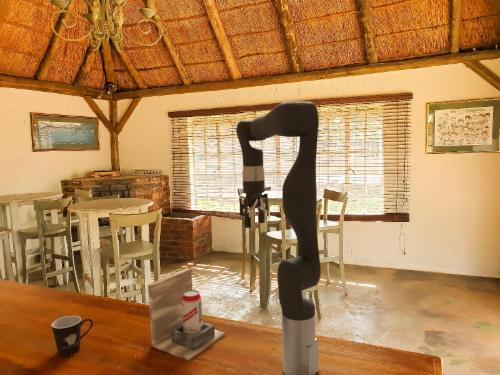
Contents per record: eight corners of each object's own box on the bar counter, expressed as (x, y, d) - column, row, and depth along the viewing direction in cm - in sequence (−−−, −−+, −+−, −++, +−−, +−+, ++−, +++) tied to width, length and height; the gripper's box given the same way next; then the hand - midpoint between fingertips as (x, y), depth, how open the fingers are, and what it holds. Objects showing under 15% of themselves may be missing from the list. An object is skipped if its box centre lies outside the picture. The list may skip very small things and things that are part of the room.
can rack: (152, 346, 128) (147, 284, 125) (190, 324, 142) (187, 268, 140) (188, 360, 119) (184, 294, 116) (224, 335, 133) (222, 275, 131)
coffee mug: (51, 360, 121) (48, 330, 120) (57, 346, 130) (54, 318, 128) (91, 354, 124) (89, 324, 123) (94, 340, 133) (92, 312, 131)
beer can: (199, 345, 126) (197, 297, 124) (181, 343, 127) (178, 296, 125) (205, 335, 132) (203, 289, 130) (187, 334, 133) (185, 288, 131)
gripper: (250, 181, 127) (252, 230, 129) (273, 177, 138) (274, 222, 140) (232, 180, 131) (234, 228, 133) (256, 176, 142) (257, 220, 144)
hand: (255, 225), depth 137 cm, fingers open, 8 cm apart
